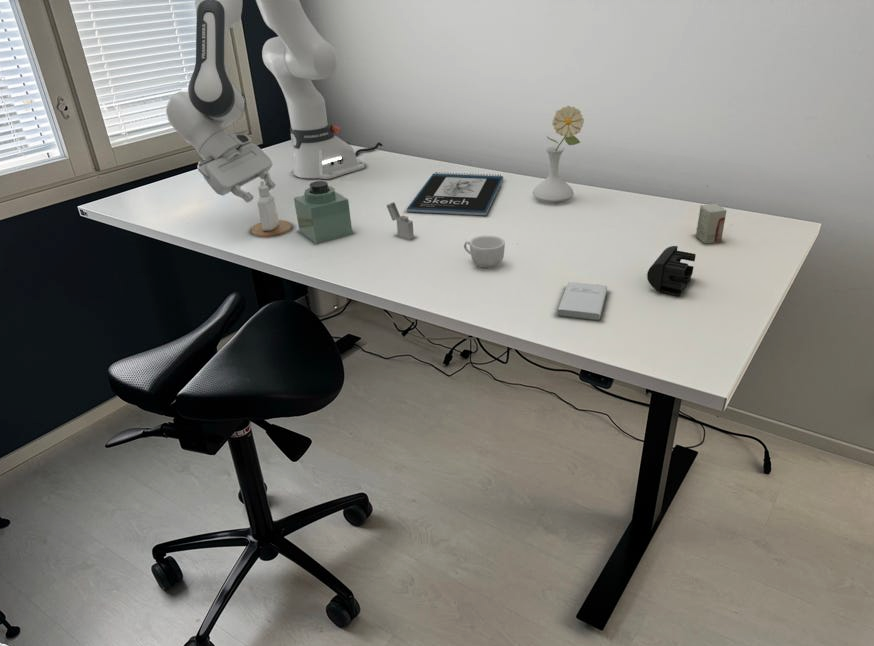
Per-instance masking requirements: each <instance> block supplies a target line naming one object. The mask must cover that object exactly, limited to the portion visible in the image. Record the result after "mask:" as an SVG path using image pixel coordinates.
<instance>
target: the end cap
mask: <svg viewBox="0 0 874 646" xmlns="http://www.w3.org/2000/svg"><path fill="white" fill-rule="evenodd" d="M678 249H679V248H678V245H671V246H668V247H667V248H665V249H663V251H662V252H661V253H660V255H659V256H657V258H656V260H655V261H654V262H653V263H652V264H651V266H649V268H648V270H647V274H646V277H647V278H646V279H647V282H648V283H649V285H650V286H651V287H652V288H653V289H655V291H657V292H658V293H661V294H666V295H670V296H673V297H681V295H682V294H683V292H684V291H685V290H686V288H687V286H688V285H689V284H690V282H691V280H692V275H693V273H694V267H695V266H693V265H689V263H687V262H682V260H684V261H688V262H695V261H696V255H697V254H696V253H693V252H687V251H682V250H678Z"/></svg>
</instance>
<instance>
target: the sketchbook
mask: <svg viewBox="0 0 874 646" xmlns="http://www.w3.org/2000/svg"><path fill="white" fill-rule="evenodd" d="M503 181H504V176H503V175H502V174H495V173H494V174H491V173H489V174H488V173H486V174H485V173H470V172H468V173H465V172H464V173H460V172H441V171H440V172H438V171H435V172H434V173H432V174H431V176H430V177H429V178H428V180H427V181H426V182H425V184H424V185H423V186H422V188H421V189H420V190H419V191H418V194H416V196H415V197H414V199H413V200H412V201H411V202H410V204H409V205H408V206H407V208H406V209H407V210H406V211H407V213H414V214H415V213H416V214H434V215H435V214H436V215H457V216H476V217H477V216H478V217H487V214H488V212H489V210H490V209H491V206H492V204H493V202H494V200H495V198H496V196H497V193H498V192H499V190H500V187H501V185H502V183H503Z"/></svg>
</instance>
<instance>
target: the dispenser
mask: <svg viewBox="0 0 874 646" xmlns="http://www.w3.org/2000/svg"><path fill="white" fill-rule="evenodd" d="M328 189H329V191H328V192H327V193H322V194H312V193H311V191H310V187H308V188H306V189H305V190H304V192H303V194H302V195H298V196H295V197H293V203H294V207H295V213H296V214H295V215H296V220H297V226H298V231H299V233H301V234H302V235H304V236H305V237H306V238H308V239H309V240H311V241H312V242H313V243H314V244H320V243H324V242H327V241H331V240H334V239H339V238H342V237H345V236H348V235H352V234H353V227H352V226H353V225H352V219H351V211H350V201H349V198H347V197H345V196H343V195H341V194H340V193H338V192H336V188H335V187H334V186H331V185H328Z"/></svg>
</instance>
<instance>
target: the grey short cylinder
mask: <svg viewBox="0 0 874 646" xmlns="http://www.w3.org/2000/svg"><path fill="white" fill-rule="evenodd" d="M328 186H329V182H328V181H324V180H316V181H312V182H310V183H309V188H310V191H311V193H312V194H322V193H327V192H328V191H329V189H328Z"/></svg>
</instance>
